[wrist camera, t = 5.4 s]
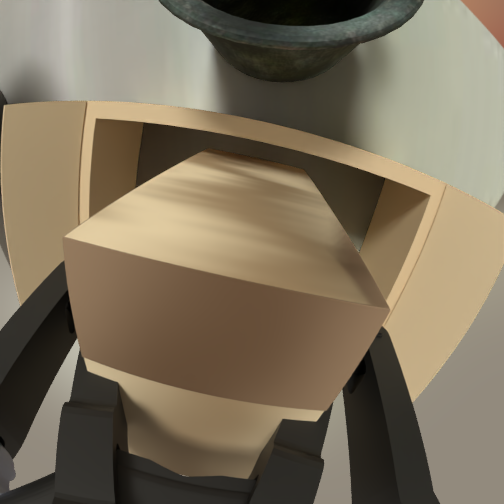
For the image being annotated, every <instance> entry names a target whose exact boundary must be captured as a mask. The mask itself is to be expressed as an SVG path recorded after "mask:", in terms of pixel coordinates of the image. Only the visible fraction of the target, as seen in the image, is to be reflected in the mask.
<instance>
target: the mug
mask: <svg viewBox="0 0 504 504" xmlns="http://www.w3.org/2000/svg"><path fill="white" fill-rule="evenodd" d="M159 1H160V3H161V4H162V5H163V6H164V7H165V8H167V9H168V10H169V11H170V12H171V13H172V14H173V15H174V16H176V17H178V18H179V19H181V20H183V21H184V22H186V23H187V24H189V25H191V26H192V27H195V28H197V29H200V30H201V31H202V32H203V33H204V34H205V36H206V37H207V38H208V39H209V41H210V42H211V43H212V44H213V45H214V47H215V48H216V49H217V50H218V52H219V53H220V54H221V55H222V56H223V58H224V59H225V60H226V61H227V62H228V63H230V64H231V65H232V66H234V67H235V68H236V69H238V70H240V71H241V72H243V73H245V74H247V75H250V76H253V77H255V78H258V79H263V80H267V81H275V82H293V81H299V80H305V79H308V78H311V77H315V76H317V75H319V74H321V73H323V72H325V71H327V70H328V69H330V68H331V67H333V66H334V65H335V64H336V63H337V62H339V61H340V60H341V59H342V58H343V57H344V56H346V55H347V54H348V53H349V52H350V51H352V50H353V49H354V48H355V47H356V46H358V45H359V44H360V43H365V42H368V41H370V40H373V39H376V38H379V37H382V36H385V35H386V34H388V33H390V32H392V31H394V30H396V29H398V28H400V27H401V26H402V25H403V24H405V23H406V22H407V21H408V20H410V19H411V18H412V17H413V16H414V15H415V13H416V12H417V11H418V9H419V8H420V7H421V6H422V3H423V1H424V0H159Z"/></svg>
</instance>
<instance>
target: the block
mask: <svg viewBox="0 0 504 504" xmlns="http://www.w3.org/2000/svg"><path fill="white" fill-rule="evenodd" d="M62 240H63V252H64V261H65V270H66V278H67V285H68V291H69V298H70V304H71V309H72V314H73V319H74V324H75V329H76V334H77V338H78V342H79V346H80V350H81V354H82V357H84V360H85V364H86V367H87V371H89V372H91V373H94V374H97V375H99V376H102V377H105V378H107V379H110V380H113V381H116V382H118V385H119V390H120V395H121V400H122V404H123V409H124V413H125V417H126V421H127V429H128V450H129V453H131V454H134V455H137V456H140V457H143V458H147V459H150V460H152V461H154V462H156V463H157V464H159V465H161V466H163V467H165V468H167V469H169V470H171V471H173V472H175V473H177V474H181V475H185V476H190V477H195V476H228V477H235V478H243V479H248V478H249V476H250V474H251V472H252V470H253V468H254V466H255V464H256V461H257V459H258V457H259V455H260V453H261V452H262V450H263V449H264V447H265V446H266V444H267V443H268V441H269V439H270V438H271V436H272V435H273V433H274V432H275V430H276V429H277V427H278V425H279V424H280V422H281V421H282V419H291V420H302V421H317V420H318V419H319V417H320V416H321V415H322V413H323V412H324V411H327V409H328V408H329V407H330V405H331V404H332V403H333V401H334V400H335V398H336V397H337V395H338V394H339V393H340V391H341V390H342V388H343V387H344V386H345V384H346V383H347V381H348V380H349V378H350V377H351V375H352V374H353V372H354V371H355V369H356V368H357V366H358V365H359V363H360V361H361V360H362V358H363V357H364V355H365V354H366V352H367V350H368V349H369V347H370V345H371V344H372V342H373V340H374V339H375V337H376V335H377V334H378V332H379V330H380V328H381V327H382V325H383V323H384V321H385V320H386V318H387V316H388V314H389V312H390V308H389V306H388V304H387V302H386V300H385V298H384V297H383V295H382V293H381V291H380V289H379V287H378V286H377V284H376V282H375V280H374V279H373V277H372V275H371V273H370V272H369V270H368V268H367V266H366V265H365V263H364V261H363V260H362V258H361V256H360V255H359V253H358V251H357V250H356V248H355V246H354V245H353V243H352V241H351V240H350V238H349V236H348V235H347V233H346V232H345V230H344V228H343V227H342V225H341V224H340V222H339V221H338V219H337V217H336V216H335V214H334V213H333V211H332V210H331V208H330V207H329V205H328V204H327V202H326V201H325V199H324V198H323V196H322V195H321V193H320V192H319V190H318V189H317V187H316V186H315V184H314V183H313V181H312V180H311V179H310V177H309V176H308V174H307V173H306V171H305V170H304V169H300V168H297V167H293V166H289V165H285V164H281V163H276V162H272V161H268V160H264V159H259V158H255V157H250V156H246V155H241V154H236V153H231V152H226V151H221V150H216V149H210V148H207V149H205V150H203V151H201V152H199V153H198V154H196V155H194V156H192V157H190V158H188V159H186V160H184V161H182V162H180V163H179V164H177V165H175V166H173V167H171V168H170V169H168V170H166V171H164V172H162V173H161V174H159V175H157V176H155V177H154V178H152V179H150V180H148V181H147V182H145V183H143V184H142V185H140V186H138V187H137V188H135V189H133V190H132V191H130V192H129V193H127V194H125V195H124V196H122V197H121V198H119V199H117V200H116V201H114V202H113V203H111V204H110V205H108V206H106V207H105V208H103V209H102V210H100V211H99V212H97V213H96V214H94V215H93V216H92V217H90V218H89V219H87V220H86V221H84V222H83V223H81V224H80V225H79V226H77V227H76V228H74V229H73V230H72V231H70V232H69V233H67V234H66V235H65V236H63V237H62Z"/></svg>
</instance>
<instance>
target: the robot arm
mask: <svg viewBox="0 0 504 504" xmlns="http://www.w3.org/2000/svg"><path fill="white" fill-rule="evenodd" d="M4 105H7V103H6V100H5V98H4V96H3V94H2V92H1V91H0V194H1V134H2V120H3V110H4ZM76 339H77V334H76V329H75V324H74V319H73V314H72V309H71V304H70V298H69V291H68V285H67V278H66V270H65V261H63V262H61V263H60V264H59V265H58V266H57V267H56V268H55V269H54V270H53V271H52V272H51V273H50V274H49V275H48V277H47V278H46V279H45V280H44V281H43V282H42V283H41V284H40V285H39V286H38V287H37V288H36V289H35V291H34V292H33V293H32V294H31V295H30V296H29V297H28V298H27V299H26V301H25V302H24V303H23V304H22V305H21V306H20V308H19V309H18V310H17V311H16V312H15V313H14V315H13V316H12V317H11V318H10V319H9V321H8V322H7V323H6V324H5V326H4V327H3V328H2V329H1V331H0V504H313V503H314V499H315V496H316V493H317V489H318V486H319V483H320V479H321V475H322V472H323V468H324V460H323V459H322V458H321V451H322V447H323V444H324V440H325V436H326V432H327V428H328V423H329V419H330V415H331V410H332V405H333V403H332V404H331V405H330V407H329V408H328V409H327V411H324V412H323V413H322V415H321V416H320V417H319V419H318V420H317V421H302V420H291V419H282V421H281V422H280V424H279V425H278V427H277V429H276V430H275V432H274V433H273V435H272V436H271V438H270V439H269V441H268V443H267V444H266V446H265V447H264V449H263V450H262V452H261V453H260V455H259V457H258V459H257V461H256V464H255V466H254V468H253V470H252V472H251V474H250V476H249V478H248V479H243V478H235V477H228V476H195V477H186V476H182V475H179V474H177V473H175V472H173V471H171V470H169V469H167V468H165V467H163V466H161V465H159V464H157V463H156V462H154V461H152V460H150V459H147V458H143V457H140V456H137V455H134V454H131V453H129V450H128V429H127V421H126V417H125V413H124V409H123V404H122V400H121V395H120V390H119V385H118V382H116V381H113V380H110V379H107V378H105V377H102V376H99V375H97V374H94V373H91V372H89V371H87V367H86V364H85V360H84V357H82V354H81V350H80V351H79V355H78V360H77V365H76V370H75V375H74V381H73V387H72V392H71V398H70V401H69V402H65V403H64V405H63V407H62V411H61V417H60V425H59V433H58V442H57V453H56V469H55V472H54V473H52V474H50V475H48V476H45V477H43V478H41V479H38V480H36V481H34V482H31V483H29V484H26V485H24V486H21V487H19V488H16V489H14V490H11V491H10V490H9V481H12V480H13V479H14V478H15V475H16V473H15V470H14V463H13V460H12V459H13V458H14V457H15V456H16V454H17V453H18V451H19V450H20V448H21V446H22V444H23V442H24V440H25V438H26V436H27V434H28V432H29V429H30V427H31V425H32V423H33V421H34V418H35V416H36V414H37V412H38V410H39V408H40V406H41V404H42V402H43V400H44V398H45V396H46V393H47V392H48V390H49V388H50V385H51V384H52V382H53V380H54V378H55V376H56V374H57V373H58V371H59V369H60V367H61V365H62V363H63V362H64V360H65V358H66V356H67V354H68V353H69V351H70V349H71V348H72V346H73V344H74V342H75V341H76ZM342 390H343V397H344V406H345V416H346V425H347V435H348V446H349V460H350V475H351V491H352V492H351V493H352V504H440V503H439V501H438V499H437V497H436V495H435V493H434V492H433V486H432V481H431V476H430V471H429V466H428V463H427V457H426V453H425V449H424V445H423V441H422V437H421V433H420V429H419V426H418V422H417V418H416V414H415V411H414V408H413V404H412V401H411V397H410V394H409V391H408V387H407V384H406V381H405V378H404V375H403V372H402V369H401V366H400V363H399V360H398V357H397V354H396V352H395V349H394V346H393V343H392V341H391V338H390V335H389V333H388V331H387V330H386V329H385V328H384V327H383V326H382V327H381V328H380V330H379V332H378V334H377V335H376V337H375V339H374V340H373V342H372V344H371V345H370V347H369V349H368V350H367V352H366V354H365V355H364V357H363V358H362V360H361V361H360V363H359V365H358V366H357V368H356V369H355V371H354V372H353V374H352V375H351V377H350V378H349V380H348V381H347V383H346V384H345V386H344V387H343V388H342Z"/></svg>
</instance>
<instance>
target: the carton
mask: <svg viewBox="0 0 504 504" xmlns="http://www.w3.org/2000/svg"><path fill="white" fill-rule="evenodd" d="M144 122H147V123H156V124H164V125H171V126H179V127H185V128H192V129H198V130H204V131H210V132H216V133H221V134H226V135H232V136H237V137H242V138H246V139H251V140H256V141H260V142H265V143H269V144H273V145H277V146H281V147H286V148H289V149H293V150H297V151H301V152H305V153H308V154H312V155H316V156H319V157H323V158H326V159H330V160H333V161H336V162H340V163H343V164H346V165H349V166H352V167H355V168H359V169H362V170H365V171H368V172H371V173H373V174H376V175H379V176H382V177H385V181H384V185H383V188H382V191H381V194H380V197H379V200H378V203H377V206H376V209H375V211H374V214H373V217H372V220H371V223H370V226H369V228H368V231H367V234H366V236H365V239H364V242H363V244H362V247H361V250H360V252H359V255H360V256H361V258H362V260H363V261H364V263H365V265H366V266H367V268H368V270H369V272H370V273H371V275H372V277H373V279H374V280H375V282H376V284H377V286H378V287H379V289H380V291H381V293H382V295H383V297H384V298H385V300H386V302H387V304H388V306H389V308H390V312H389V314H388V316H387V318H386V320H385V321H384V323H383V325H382V326H383V327H384V328H385V329H386V330H387V331H388V333H389V335H390V338H391V341H392V343H393V346H394V349H395V352H396V354H397V357H398V360H399V363H400V366H401V369H402V372H403V375H404V378H405V381H406V384H407V387H408V391H409V394H410V397H411V401H412V403H413V402H414V400H415V399H416V398H417V397H418V396H419V395H420V393H421V392H422V391H423V390H424V389H425V388H426V386H427V385H428V384H429V383H430V382H431V380H432V379H433V378H434V376H435V375H436V374H437V373H438V371H439V370H440V369H441V368H442V366H443V365H444V363H445V362H446V361H447V359H448V358H449V356H450V355H451V354H452V353H453V351H454V350H455V348H456V347H457V345H458V344H459V342H460V341H461V339H462V338H463V336H464V335H465V333H466V332H467V330H468V329H469V327H470V326H471V324H472V322H473V321H474V319H475V317H476V316H477V314H478V312H479V311H480V309H481V307H482V306H483V304H484V302H485V300H486V298H487V297H488V295H489V293H490V291H491V289H492V287H493V285H494V283H495V281H496V279H497V277H498V275H499V273H500V271H501V269H502V267H503V265H504V213H502V212H500V211H498V210H497V209H495V208H493V207H491V206H490V205H488V204H486V203H484V202H482V201H480V200H478V199H477V198H475V197H473V196H471V195H469V194H467V193H465V192H463V191H461V190H459V189H457V188H455V187H453V186H451V185H448V184H446V183H444V182H442V181H440V180H438V179H435V178H433V177H431V176H429V175H426V174H424V173H422V172H420V171H417V170H415V169H412V168H410V167H408V166H405V165H403V164H400V163H398V162H395V161H392V160H390V159H387V158H384V157H382V156H379V155H376V154H374V153H371V152H368V151H365V150H362V149H359V148H356V147H353V146H350V145H347V144H344V143H341V142H338V141H334V140H331V139H328V138H325V137H321V136H318V135H314V134H311V133H307V132H303V131H300V130H296V129H292V128H288V127H284V126H280V125H276V124H271V123H267V122H262V121H258V120H253V119H248V118H243V117H238V116H233V115H228V114H222V113H216V112H210V111H204V110H197V109H190V108H182V107H174V106H165V105H155V104H144V103H131V102H112V101H49V102H32V103H20V104H10V105H4V110H3V120H2V134H1V194H2V207H3V218H4V227H5V234H6V241H7V248H8V254H9V259H10V265H11V270H12V274H13V279H14V283H15V287H16V291H17V295H18V299H19V303H20V306H21V305H22V304H23V303H24V302H25V301H26V299H27V298H28V297H29V296H30V295H31V294H32V293H33V292H34V291H35V289H36V288H37V287H38V286H39V285H40V284H41V283H42V282H43V281H44V280H45V279H46V278H47V277H48V275H49V274H50V273H51V272H52V271H53V270H54V269H55V268H56V267H57V266H58V265H59V264H60V263H61V262H63V261H64V252H63V240H62V237H63V236H65V235H66V234H67V233H69V232H70V231H72V230H73V229H74V228H76V227H77V226H79V225H80V224H81V223H83V222H84V221H86V220H87V219H89V218H90V217H92V216H93V215H94V214H96V213H97V212H99V211H100V210H102V209H103V208H105V207H106V206H108V205H110V204H111V203H113V202H114V201H116V200H117V199H119V198H121V197H122V196H124V195H125V194H127V193H129V192H130V191H132V190H133V189H135V187H136V177H137V167H138V159H139V151H140V144H141V137H142V131H143V124H144Z"/></svg>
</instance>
